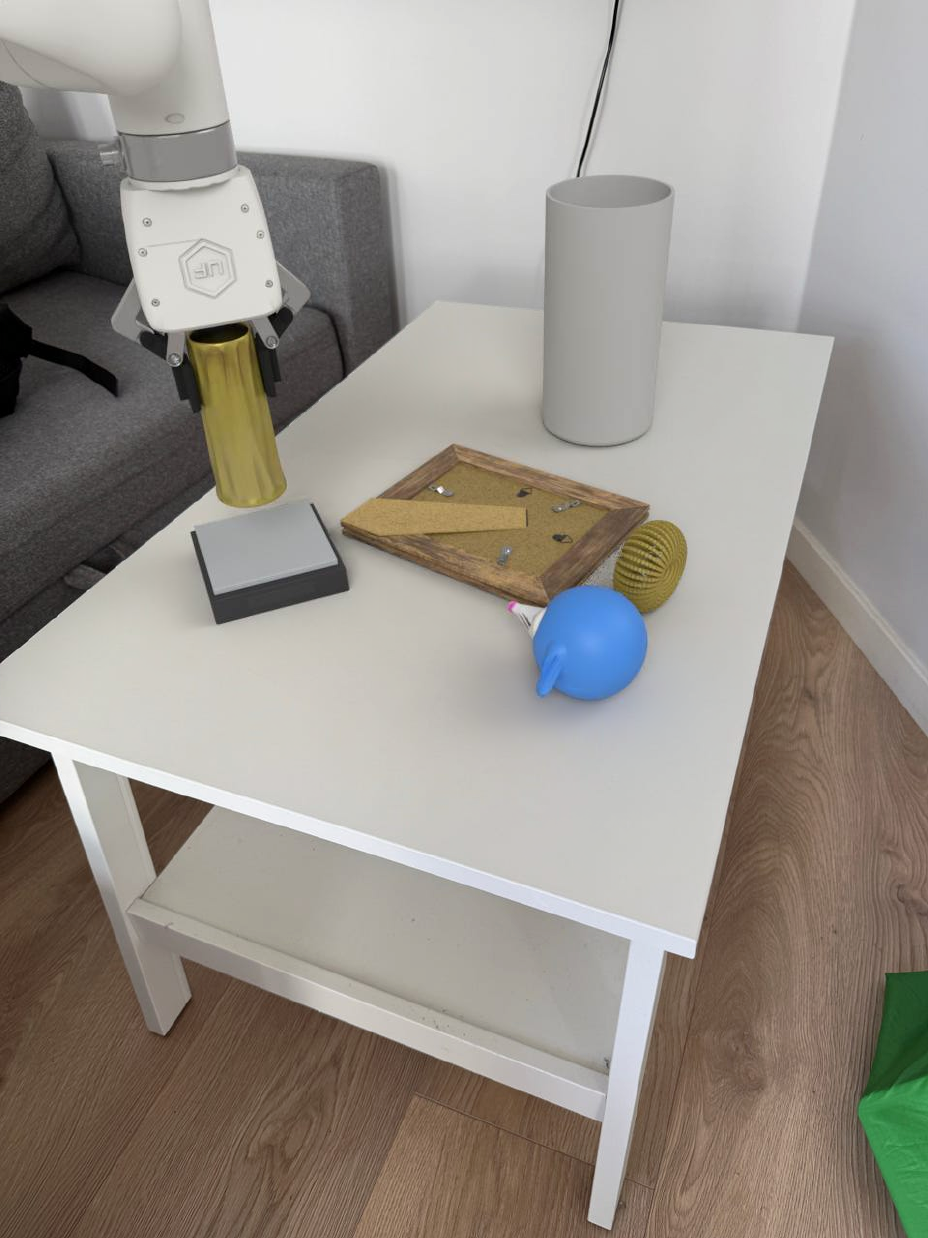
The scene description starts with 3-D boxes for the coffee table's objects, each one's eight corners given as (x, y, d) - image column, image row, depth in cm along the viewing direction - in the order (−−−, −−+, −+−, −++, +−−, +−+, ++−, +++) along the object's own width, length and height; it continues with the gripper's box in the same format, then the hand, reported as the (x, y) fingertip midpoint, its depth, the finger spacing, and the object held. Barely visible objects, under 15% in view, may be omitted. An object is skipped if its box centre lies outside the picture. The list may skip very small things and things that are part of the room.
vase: (275, 466, 83) (246, 311, 74) (296, 497, 79) (268, 336, 70) (209, 483, 81) (170, 326, 72) (227, 516, 77) (188, 353, 68)
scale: (216, 625, 79) (208, 597, 77) (195, 553, 88) (188, 525, 86) (349, 590, 82) (345, 562, 80) (316, 523, 91) (312, 497, 89)
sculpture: (650, 573, 82) (658, 497, 77) (690, 590, 80) (701, 513, 75) (600, 618, 78) (606, 540, 73) (641, 636, 76) (650, 558, 71)
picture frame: (342, 535, 89) (549, 618, 78) (339, 520, 88) (549, 601, 77) (454, 455, 101) (648, 517, 90) (453, 441, 100) (650, 502, 88)
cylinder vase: (562, 392, 112) (568, 171, 96) (663, 407, 108) (687, 178, 92) (527, 439, 103) (528, 203, 87) (635, 457, 99) (657, 213, 83)
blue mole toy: (551, 608, 79) (553, 527, 74) (673, 663, 73) (684, 579, 68) (463, 684, 72) (458, 600, 67) (590, 752, 66) (595, 665, 61)
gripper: (51, 182, 58) (129, 440, 69) (314, 149, 62) (346, 396, 74) (47, 158, 63) (120, 400, 75) (289, 129, 68) (323, 362, 79)
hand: (232, 396), depth 74 cm, fingers closed on vase, 5 cm apart
